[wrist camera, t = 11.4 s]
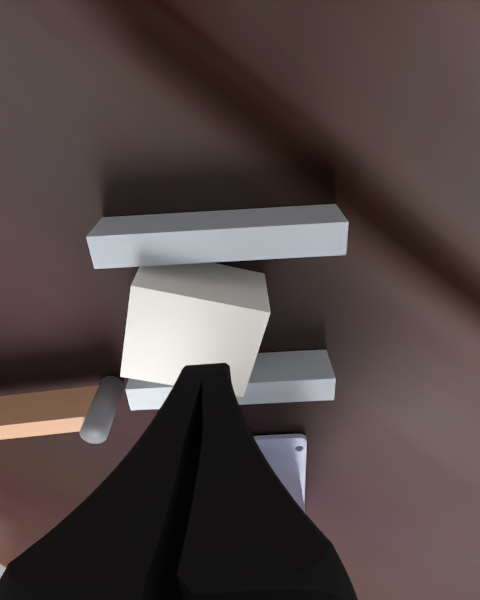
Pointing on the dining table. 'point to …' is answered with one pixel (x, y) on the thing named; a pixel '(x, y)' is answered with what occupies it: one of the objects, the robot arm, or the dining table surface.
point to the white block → (194, 321)
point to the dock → (223, 248)
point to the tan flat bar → (62, 411)
